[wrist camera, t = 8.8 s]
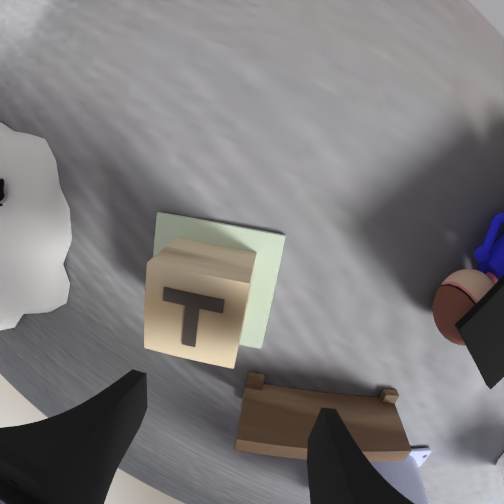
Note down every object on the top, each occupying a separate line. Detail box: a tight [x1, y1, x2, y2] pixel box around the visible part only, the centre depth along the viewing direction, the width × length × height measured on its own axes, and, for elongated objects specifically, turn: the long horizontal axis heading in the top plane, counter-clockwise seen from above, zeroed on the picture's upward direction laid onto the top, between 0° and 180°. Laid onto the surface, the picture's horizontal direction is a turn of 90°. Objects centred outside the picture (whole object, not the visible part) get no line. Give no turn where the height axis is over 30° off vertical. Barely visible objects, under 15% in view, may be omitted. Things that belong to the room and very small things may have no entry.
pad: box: [153, 212, 286, 349], centre depth 21 cm, size 8×8×1 cm
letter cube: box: [144, 237, 257, 369], centre depth 18 cm, size 5×5×5 cm
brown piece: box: [234, 372, 412, 462], centre depth 20 cm, size 3×12×6 cm, turn 80°
